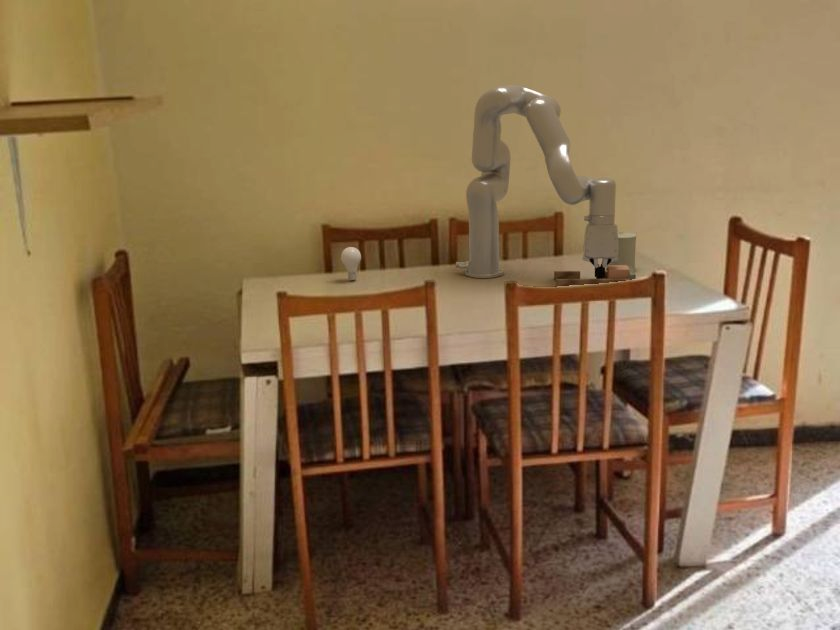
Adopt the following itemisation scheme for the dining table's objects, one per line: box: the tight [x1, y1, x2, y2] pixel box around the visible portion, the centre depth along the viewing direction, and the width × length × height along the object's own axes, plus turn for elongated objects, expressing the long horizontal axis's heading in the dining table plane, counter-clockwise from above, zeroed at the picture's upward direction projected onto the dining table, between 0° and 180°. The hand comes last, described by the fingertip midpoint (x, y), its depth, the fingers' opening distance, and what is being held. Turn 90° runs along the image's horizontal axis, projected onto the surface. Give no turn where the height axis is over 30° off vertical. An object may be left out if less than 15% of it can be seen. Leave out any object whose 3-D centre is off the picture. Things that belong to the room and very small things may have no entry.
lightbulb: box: [340, 246, 362, 282], centre depth 284 cm, size 6×6×11 cm
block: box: [606, 265, 629, 279], centre depth 272 cm, size 6×6×5 cm
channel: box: [553, 266, 637, 288], centre depth 273 cm, size 24×12×4 cm, turn 84°
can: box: [605, 231, 637, 272], centre depth 288 cm, size 9×9×12 cm
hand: (599, 279), depth 273 cm, fingers closed
